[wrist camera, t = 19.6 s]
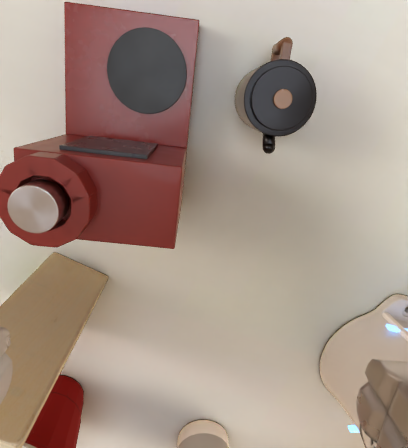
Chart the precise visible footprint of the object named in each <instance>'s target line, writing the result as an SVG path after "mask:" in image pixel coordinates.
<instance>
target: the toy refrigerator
mask: <svg viewBox="0 0 408 448" xmlns="http://www.w3.org/2000/svg"><path fill="white" fill-rule="evenodd" d="M107 280H108V277H107V276H106V275H105V274H102V273H100V272H98V271H96V270H93V269H91V268H89V267H87V266H85V265H83V264H80V263H78V262H76V261H74V260H71V259H69V258H67V257H65V256H62V255H60V254H58V253H53V254H52V255H50V256H49V257H48V258H47V259H46V260H45V261H44V262H43V264H42V265H41V266H40V267H39V268H38V269H37V270H36V271H35V272H34V273H33V274H32V275H31V276H30V277H29V278H28V279H27V280H26V281H25V282H24V283H23V284H22V285H21V286H20V287H19V288H18V289H17V290H16V291H15V292H14V293H13V294H12V295H11V296H10V297H9V298H8V299H7V300H6V301H5V302H4V303H3V304H2V305H1V306H0V327H4V328H6V329H7V330H9V333H10V341H11V344H10V346H9V347H8V348H7V350H6V351H5V353H6V354H7V355H8V356H9V358H10V359H11V360H12V366H13V372H12V380H11V383H10V386H9V389H8V392H7V394H6V396H5V398H4V400H3V401H2V403H1V404H0V448H22V447H23V445H24V443H25V441H26V439H27V437H28V435H29V433H30V431H31V429H32V427H33V425H34V423H35V421H36V419H37V418H38V416H39V414H40V412H41V410H42V408H43V406H44V404H45V402H46V400H47V398H48V396H49V394H50V392H51V390H52V388H53V386H54V384H55V383H56V381H57V379H58V377H59V375H60V373H61V371H62V369H63V367H64V365H65V363H66V361H67V359H68V357H69V355H70V353H71V351H72V349H73V347H74V345H75V344H76V342H77V340H78V338H79V336H80V334H81V332H82V330H83V328H84V326H85V324H86V322H87V320H88V318H89V316H90V314H91V312H92V310H93V308H94V306H95V304H96V302H97V300H98V298H99V296H100V294H101V292H102V290H103V288H104V286H105V284H106V282H107Z"/></svg>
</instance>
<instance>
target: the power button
mask: <svg viewBox="0 0 408 448" xmlns="http://www.w3.org/2000/svg"><path fill="white" fill-rule="evenodd" d="M67 211H68V199H67V196H66V194H65V192H64V191H63V190H62V189H61V188H60V187H59V186H58V185H57V184H55V183H54V182H52V181H49V180H44V179H37V180H34V181H31V182H29V183H27V184H25V185H23V186H21V187H19V188H17V189H16V190H14V191H13V192H12V193H11V195H10V197H9V199H8V213H9V215H10V217H11V219H12V221H13V222H14V223H15V224H16V225H17V226H18V227H19V228H21V229H23V230H24V231H27V232H30V233H44V232H47V231H49V230H50V229H52V228H53V227H54V226H55V225H56V224H57V223H58V222H60V221H61V220H62V219H63V218H64V217H65V215H66V213H67Z"/></svg>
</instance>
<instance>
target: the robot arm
mask: <svg viewBox="0 0 408 448" xmlns="http://www.w3.org/2000/svg"><path fill="white" fill-rule="evenodd" d="M406 307H408V296H405V295H401V294H396V295H393V296H391V297H389V298H388V299H386V300H385V301H384V302H383V303H382V304H380V305H379V306H378V307H377V308H376V309H375V310H373V311H372V312H370V313H367V314H365V315H363V316H360V317H358V318H356V319H354V320H352V321H350V322H349V323H347V324H346V325H344V326H343V327H341V328H340V329H339V330H338V331H337V332H336V333H335V334H334V335H333V336H332V337H331V339H330V340H329V341H328V343H327V344H326V346H325V348H324V350H323V352H322V355H321V359H320V376H321V379H322V382H323V384H324V385H325V387H326V388H327V390H328V391H329V392H330V393H331V394H332V395H333V396H334V397H335V398H336V400H337V401H338V402H339V403H340V405H341V406H342V407H343V408H344V410H345V411H346V413H347V414H348V415H349V417H350V418H351V420H352V421H353V423H354V424H355V425H348V429H349V431H350V433H355V432H360V434H361V436H362V439H363V442H364V445H365V447H366V448H408V308H407V309H405V308H406ZM10 344H11V341H10V333H9V330H7V329H6V328H4V327H0V404H1V403H2V401H3V400H4V398H5V396H6V394H7V392H8V389H9V386H10V383H11V380H12V372H13V366H12V360H11V359H10V358H9V356H8V355H7V354H6V353H5V351H6V350H7V348H8V347H9V346H10Z"/></svg>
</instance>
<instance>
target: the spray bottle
mask: <svg viewBox="0 0 408 448" xmlns="http://www.w3.org/2000/svg"><path fill="white" fill-rule="evenodd" d="M177 448H229V442H228V435H227V433H226V431H225V429H224V428H223V427H222V426H221V425H219V424H217V423H215V422H213V421H208V420H198V421H194V422H191V423H189V424H188V425H186V426H185V427H184V428H183V429H182V430H181V431H180V433H179V436H178V441H177Z"/></svg>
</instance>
